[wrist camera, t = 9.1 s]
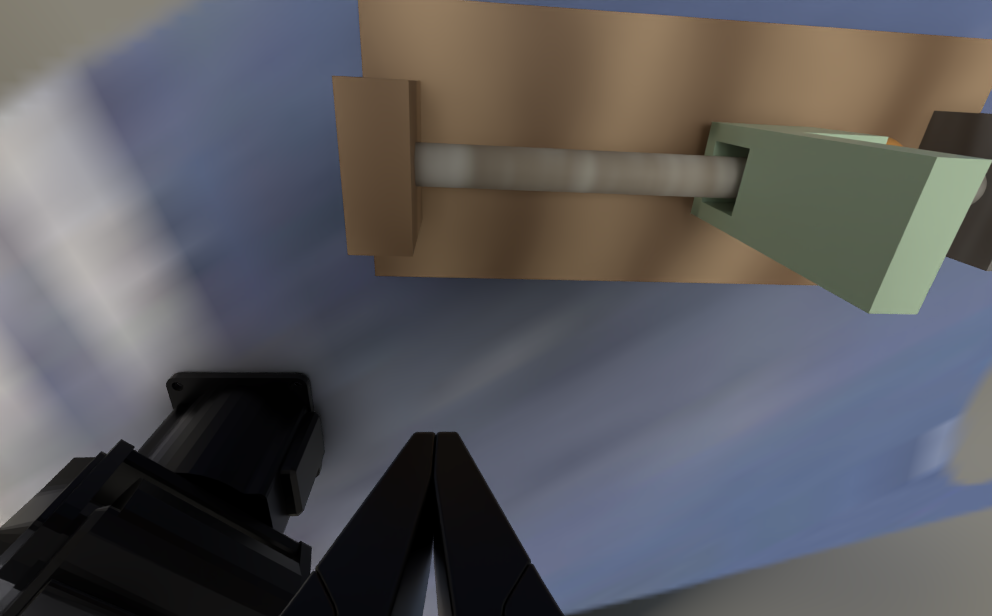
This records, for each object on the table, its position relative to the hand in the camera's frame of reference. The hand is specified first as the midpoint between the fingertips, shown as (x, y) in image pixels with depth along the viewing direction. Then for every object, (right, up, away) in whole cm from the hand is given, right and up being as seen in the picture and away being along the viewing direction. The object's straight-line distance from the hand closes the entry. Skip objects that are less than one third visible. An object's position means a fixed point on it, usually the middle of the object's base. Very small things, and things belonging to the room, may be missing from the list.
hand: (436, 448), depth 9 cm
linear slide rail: (+8, +9, +11) cm, 16 cm away
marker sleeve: (+11, +8, +9) cm, 16 cm away
